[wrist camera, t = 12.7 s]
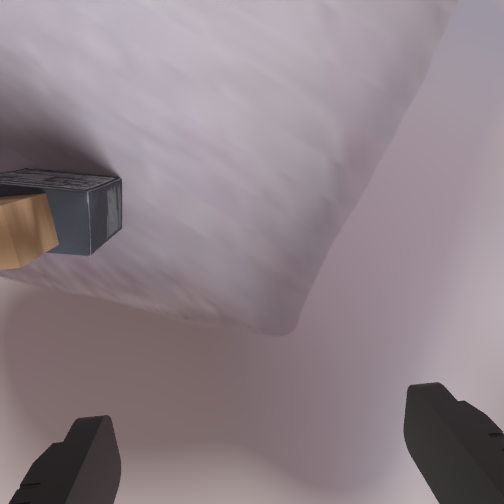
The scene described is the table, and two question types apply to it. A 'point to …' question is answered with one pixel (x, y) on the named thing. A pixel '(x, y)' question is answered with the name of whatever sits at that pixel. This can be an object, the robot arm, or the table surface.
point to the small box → (73, 206)
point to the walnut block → (25, 229)
